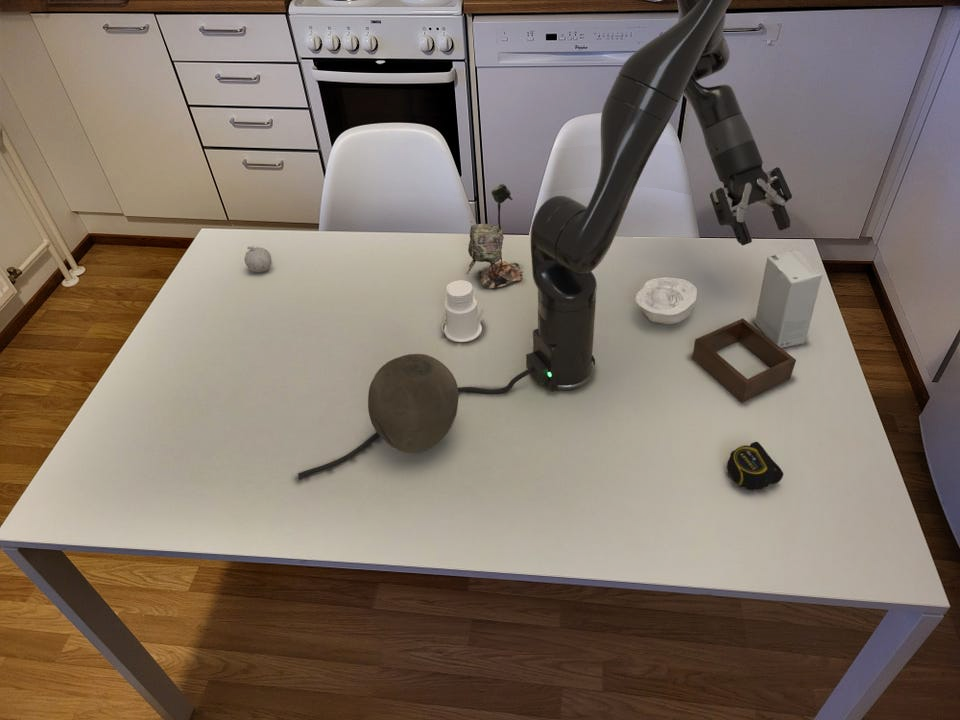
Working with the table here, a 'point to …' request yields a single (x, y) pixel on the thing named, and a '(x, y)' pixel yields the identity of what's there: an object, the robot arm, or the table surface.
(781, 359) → the crate
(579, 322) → the robot arm
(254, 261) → the garlic
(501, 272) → the plant with pod
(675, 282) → the cell model
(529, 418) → the table surface
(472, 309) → the downlight
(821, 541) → the table surface
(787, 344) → the cosmetic box
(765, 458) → the tape measure
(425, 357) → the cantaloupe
